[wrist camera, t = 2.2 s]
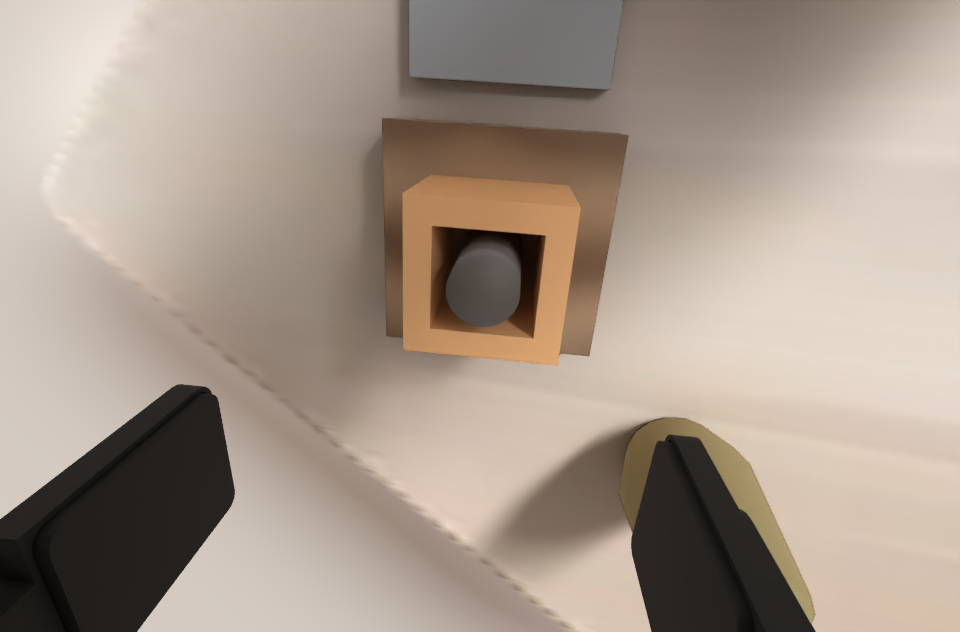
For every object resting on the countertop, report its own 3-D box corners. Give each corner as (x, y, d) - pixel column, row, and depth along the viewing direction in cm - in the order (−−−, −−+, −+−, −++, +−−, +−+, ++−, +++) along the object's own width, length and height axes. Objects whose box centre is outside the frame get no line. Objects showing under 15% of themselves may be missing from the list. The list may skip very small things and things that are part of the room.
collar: (431, 174, 24) (402, 193, 18) (568, 185, 24) (581, 207, 18) (428, 301, 27) (403, 349, 21) (551, 312, 26) (557, 365, 21)
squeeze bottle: (664, 379, 30) (828, 700, 14) (757, 442, 31) (1011, 804, 15) (585, 458, 33) (641, 797, 17) (672, 512, 34) (805, 878, 18)
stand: (395, 117, 25) (326, 120, 17) (619, 133, 25) (668, 145, 16) (397, 319, 30) (344, 402, 22) (584, 337, 30) (607, 431, 21)
